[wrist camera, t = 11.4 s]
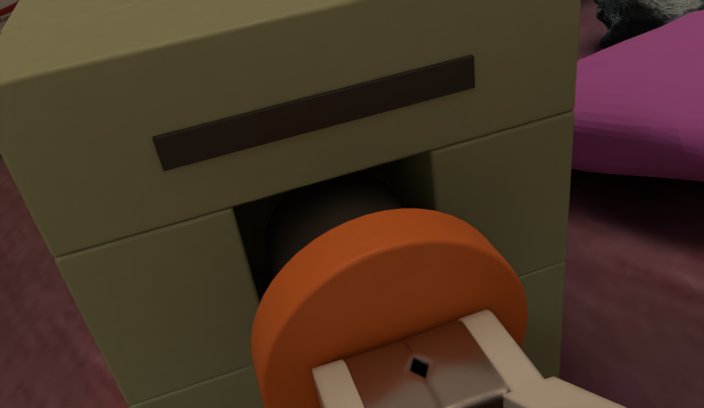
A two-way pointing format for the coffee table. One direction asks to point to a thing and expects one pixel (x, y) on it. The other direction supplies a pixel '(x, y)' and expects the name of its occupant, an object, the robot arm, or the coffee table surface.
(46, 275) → the coffee table surface
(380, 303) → the knob
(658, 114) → the blob
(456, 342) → the robot arm
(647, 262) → the coffee table surface
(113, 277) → the control box
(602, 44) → the sculpture
